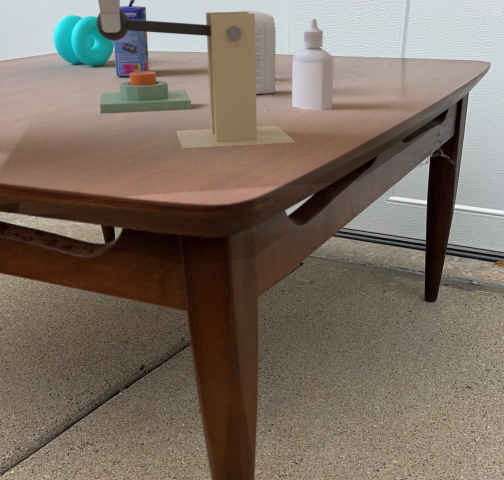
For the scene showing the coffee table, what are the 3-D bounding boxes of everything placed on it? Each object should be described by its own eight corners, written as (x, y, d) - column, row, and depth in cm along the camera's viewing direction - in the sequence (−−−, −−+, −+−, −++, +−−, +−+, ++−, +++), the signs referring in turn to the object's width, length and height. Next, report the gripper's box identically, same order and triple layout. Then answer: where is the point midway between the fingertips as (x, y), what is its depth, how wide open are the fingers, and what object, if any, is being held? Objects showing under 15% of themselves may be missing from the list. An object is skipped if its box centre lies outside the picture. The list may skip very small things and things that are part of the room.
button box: (101, 121, 92) (98, 90, 90) (103, 108, 101) (100, 80, 99) (191, 116, 93) (189, 86, 92) (185, 104, 102) (183, 76, 101)
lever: (96, 41, 68) (95, 6, 67) (97, 38, 71) (96, 4, 70) (244, 50, 71) (247, 17, 70) (240, 47, 74) (242, 15, 73)
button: (130, 88, 94) (129, 75, 93) (130, 84, 97) (129, 71, 96) (157, 87, 94) (156, 74, 93) (156, 83, 97) (155, 70, 97)
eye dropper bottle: (304, 119, 90) (305, 21, 85) (289, 112, 95) (289, 18, 90) (335, 117, 91) (338, 19, 86) (318, 110, 96) (320, 17, 91)
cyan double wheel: (93, 61, 157) (87, 13, 153) (118, 64, 151) (114, 14, 146) (54, 65, 151) (47, 16, 146) (79, 68, 144) (73, 17, 140)
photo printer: (271, 90, 113) (270, 8, 108) (279, 94, 109) (278, 10, 104) (210, 94, 111) (206, 11, 105) (215, 98, 107) (212, 12, 102)
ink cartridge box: (145, 77, 131) (138, -7, 125) (115, 77, 131) (107, -6, 125) (151, 70, 140) (145, -8, 134) (123, 71, 140) (116, -7, 133)
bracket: (183, 159, 72) (174, 17, 66) (177, 141, 80) (168, 12, 74) (295, 152, 74) (296, 13, 68) (278, 135, 82) (277, 9, 76)
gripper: (71, -117, 73) (85, 24, 79) (54, -147, 54) (73, 39, 60) (132, -116, 74) (141, 23, 79) (134, -145, 55) (146, 38, 61)
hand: (112, 30), depth 70 cm, fingers closed on lever, 3 cm apart
